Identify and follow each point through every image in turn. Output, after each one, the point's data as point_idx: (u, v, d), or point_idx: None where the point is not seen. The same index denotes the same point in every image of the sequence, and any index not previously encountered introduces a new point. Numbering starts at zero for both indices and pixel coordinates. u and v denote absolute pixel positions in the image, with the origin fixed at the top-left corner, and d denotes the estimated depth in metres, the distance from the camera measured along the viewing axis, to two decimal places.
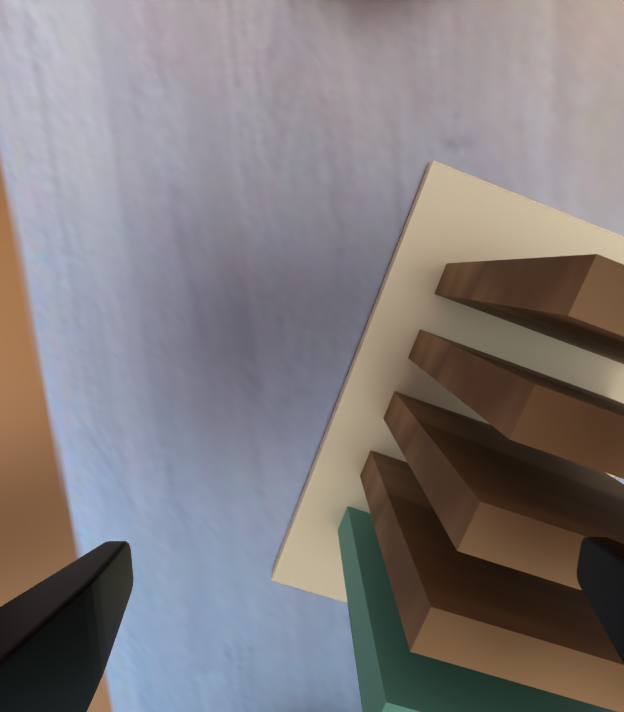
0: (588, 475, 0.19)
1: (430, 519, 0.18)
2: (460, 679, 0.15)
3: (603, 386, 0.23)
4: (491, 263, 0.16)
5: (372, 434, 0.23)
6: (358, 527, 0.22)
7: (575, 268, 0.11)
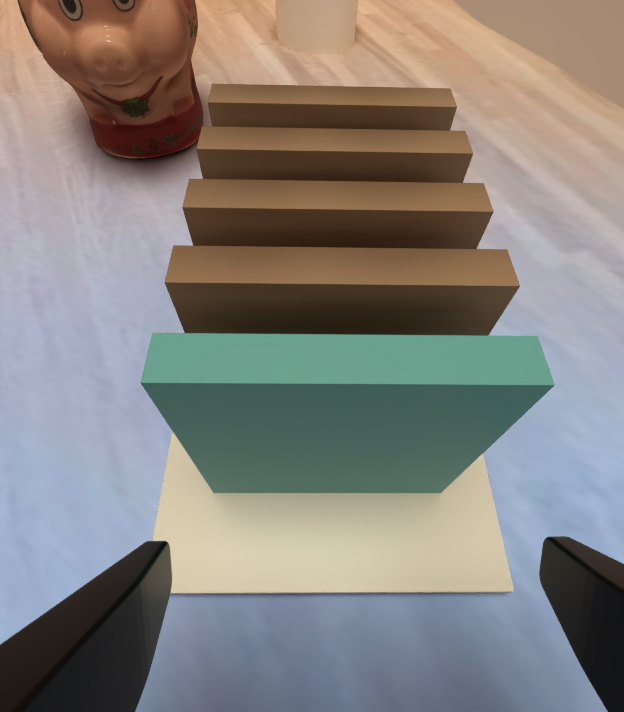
0: None
1: None
2: None
3: None
4: None
5: None
6: None
7: None
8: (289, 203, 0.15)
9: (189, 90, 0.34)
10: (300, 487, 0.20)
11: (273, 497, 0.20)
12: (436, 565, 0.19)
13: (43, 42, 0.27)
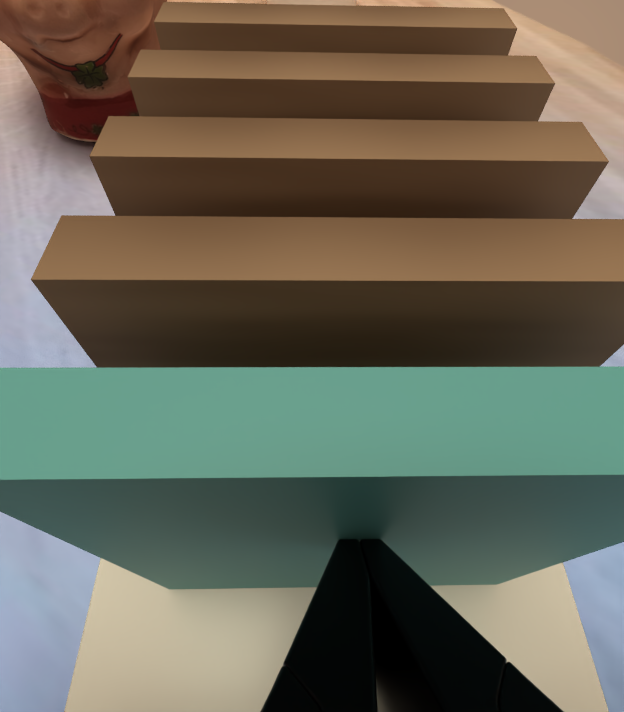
0: None
1: None
2: None
3: None
4: None
5: None
6: None
7: None
8: (269, 150, 0.09)
9: None
10: (294, 583, 0.13)
11: (255, 595, 0.14)
12: None
13: None
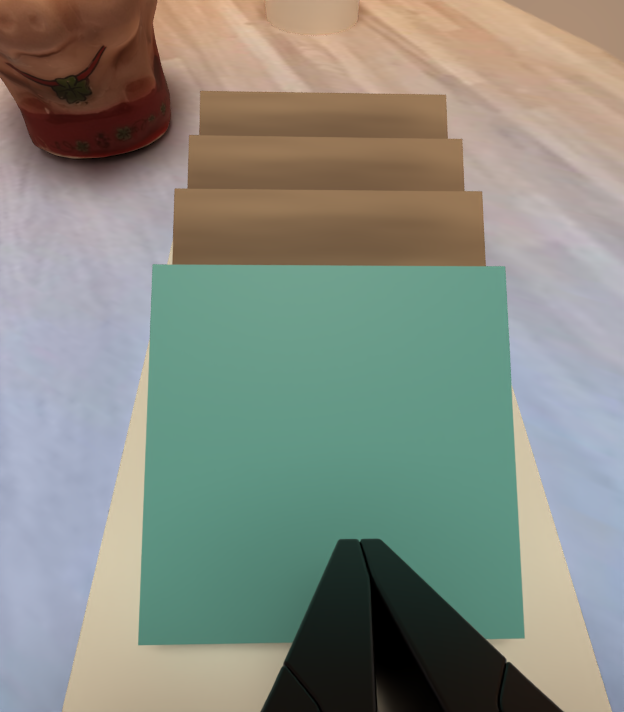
0: None
1: None
2: None
3: None
4: None
5: None
6: None
7: None
8: (283, 140, 0.17)
9: (148, 69, 0.26)
10: (287, 606, 0.12)
11: (249, 706, 0.12)
12: None
13: None
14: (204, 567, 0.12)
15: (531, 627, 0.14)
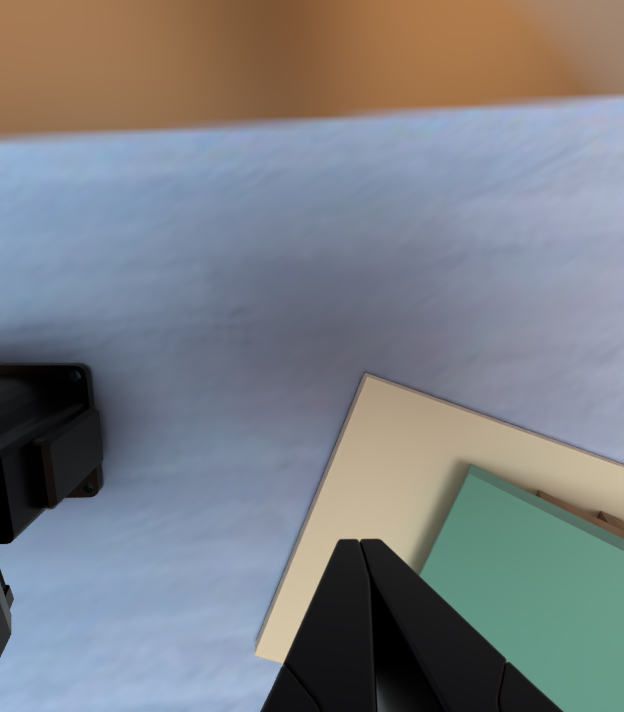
0: None
1: None
2: None
3: None
4: None
5: (544, 488, 0.21)
6: None
7: None
8: None
9: None
10: (451, 564, 0.19)
11: (402, 504, 0.21)
12: (293, 610, 0.22)
13: None
14: (498, 533, 0.18)
15: None
